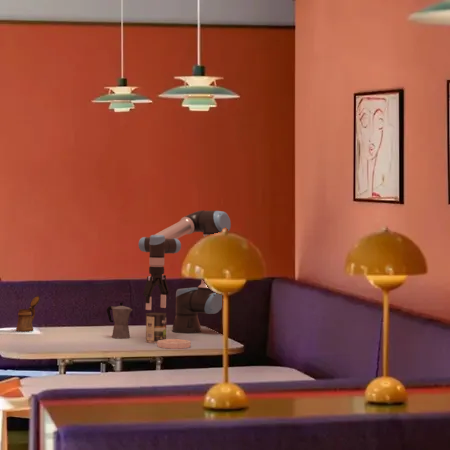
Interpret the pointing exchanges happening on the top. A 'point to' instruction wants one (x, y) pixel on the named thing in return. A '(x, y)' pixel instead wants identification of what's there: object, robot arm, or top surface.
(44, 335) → the top surface
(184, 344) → the round dish
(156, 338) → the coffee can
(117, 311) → the coffeepot
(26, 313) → the brown tapered pot
